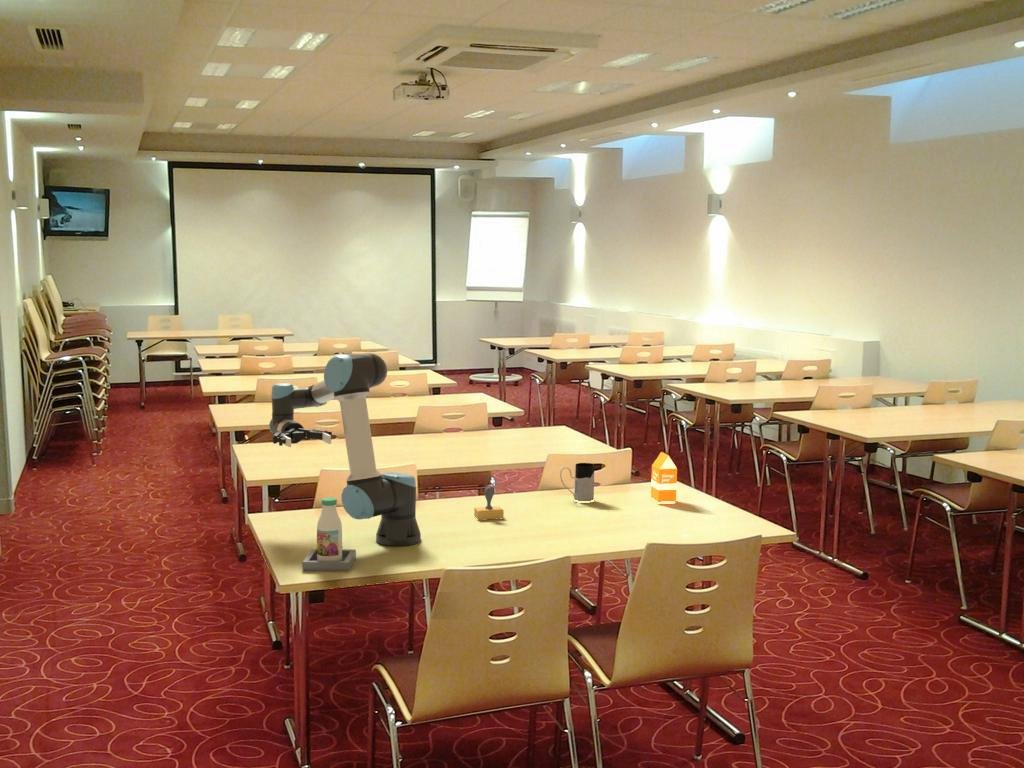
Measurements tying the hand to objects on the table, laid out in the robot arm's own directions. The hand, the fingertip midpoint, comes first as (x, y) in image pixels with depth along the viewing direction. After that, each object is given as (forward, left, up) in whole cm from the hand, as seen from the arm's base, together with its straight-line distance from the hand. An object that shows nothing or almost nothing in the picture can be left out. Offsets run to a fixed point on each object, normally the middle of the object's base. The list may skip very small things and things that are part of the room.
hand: (310, 441), depth 315 cm
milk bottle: (-10, +21, -34) cm, 42 cm away
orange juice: (-128, -69, -35) cm, 150 cm away
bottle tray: (-10, +21, -35) cm, 42 cm away
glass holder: (-93, -68, -35) cm, 121 cm away
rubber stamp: (-58, -39, -35) cm, 79 cm away
